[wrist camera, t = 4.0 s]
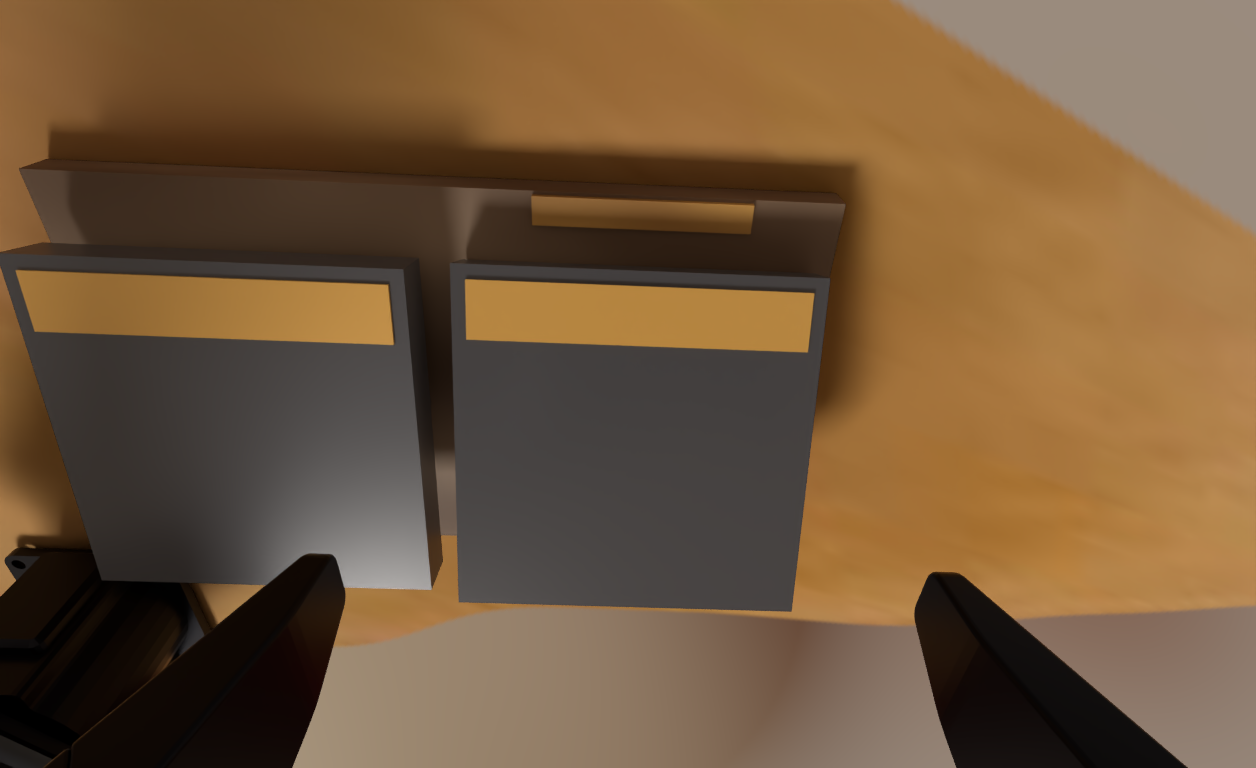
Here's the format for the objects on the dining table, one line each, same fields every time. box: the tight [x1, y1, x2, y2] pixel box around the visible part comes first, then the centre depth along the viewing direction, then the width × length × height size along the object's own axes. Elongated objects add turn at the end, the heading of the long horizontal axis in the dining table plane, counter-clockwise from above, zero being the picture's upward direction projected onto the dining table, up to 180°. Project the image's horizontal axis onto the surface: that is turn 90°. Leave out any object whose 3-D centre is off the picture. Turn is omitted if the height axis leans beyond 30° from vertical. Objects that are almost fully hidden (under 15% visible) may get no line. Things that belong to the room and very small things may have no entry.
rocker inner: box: [0, 243, 443, 590], centre depth 19 cm, size 10×10×2 cm
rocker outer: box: [450, 259, 830, 612], centre depth 19 cm, size 10×10×2 cm
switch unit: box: [19, 159, 846, 535], centre depth 21 cm, size 13×22×2 cm, turn 88°
